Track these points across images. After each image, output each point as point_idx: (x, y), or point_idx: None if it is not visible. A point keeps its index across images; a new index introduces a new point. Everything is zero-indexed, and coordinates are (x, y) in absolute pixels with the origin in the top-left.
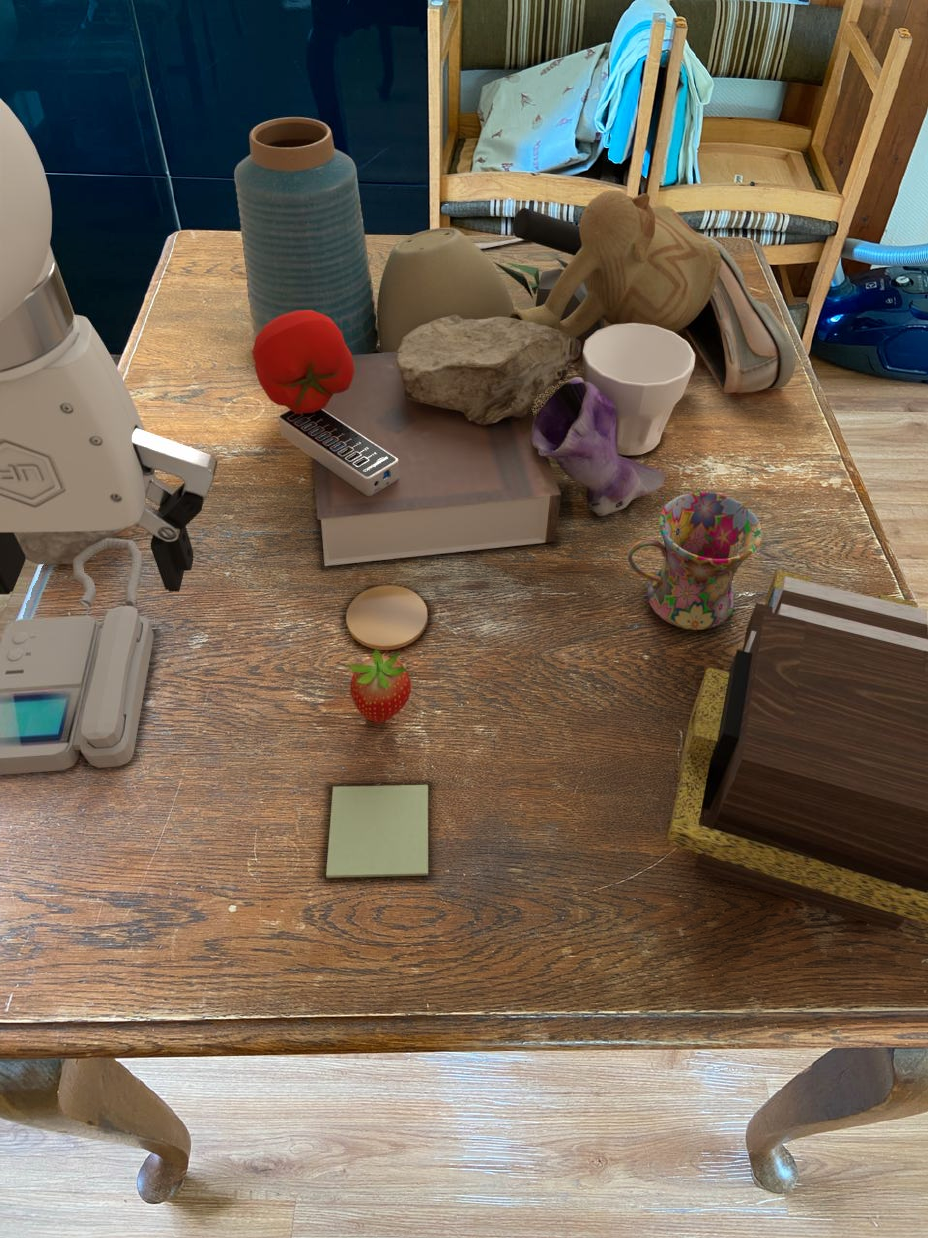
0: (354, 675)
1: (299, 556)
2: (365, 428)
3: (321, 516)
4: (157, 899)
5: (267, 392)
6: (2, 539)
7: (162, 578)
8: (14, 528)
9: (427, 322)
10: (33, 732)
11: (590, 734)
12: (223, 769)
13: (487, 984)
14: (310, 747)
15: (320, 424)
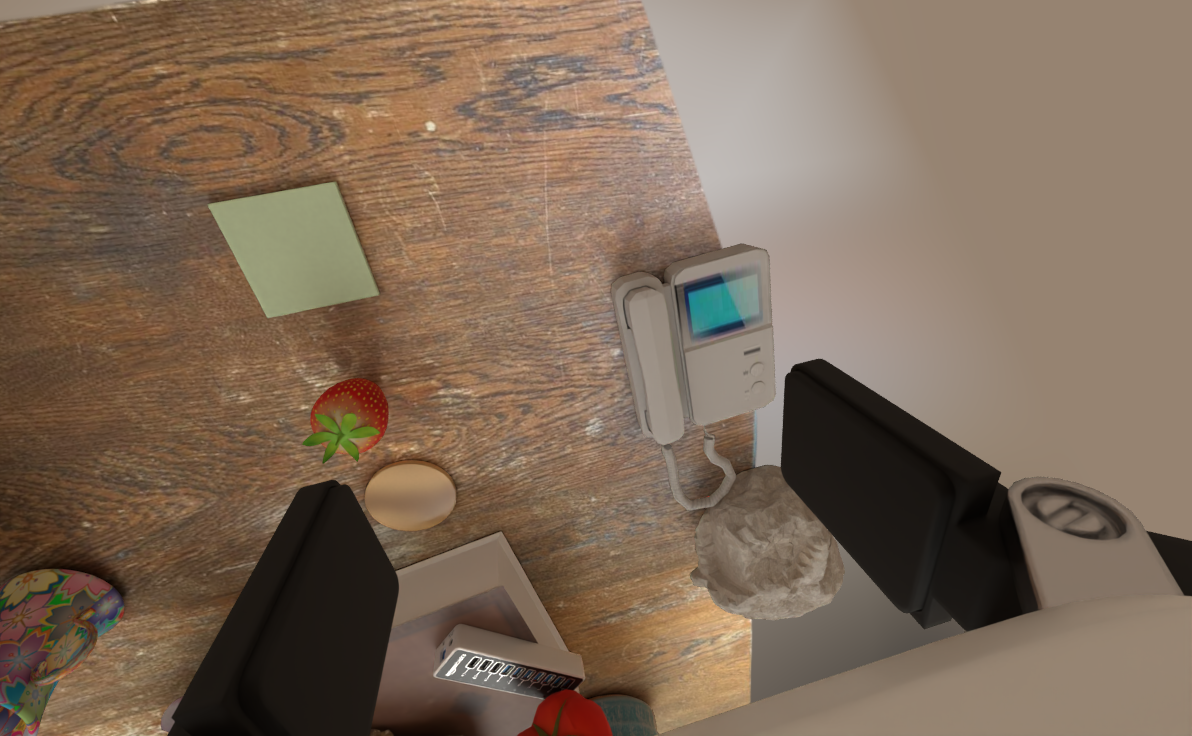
0: (376, 422)
1: (531, 533)
2: None
3: (499, 589)
4: (520, 125)
5: (594, 714)
6: (874, 522)
7: (320, 522)
8: (953, 718)
9: None
10: (712, 290)
11: (101, 419)
12: (512, 294)
13: (45, 59)
14: (429, 337)
15: (537, 684)
